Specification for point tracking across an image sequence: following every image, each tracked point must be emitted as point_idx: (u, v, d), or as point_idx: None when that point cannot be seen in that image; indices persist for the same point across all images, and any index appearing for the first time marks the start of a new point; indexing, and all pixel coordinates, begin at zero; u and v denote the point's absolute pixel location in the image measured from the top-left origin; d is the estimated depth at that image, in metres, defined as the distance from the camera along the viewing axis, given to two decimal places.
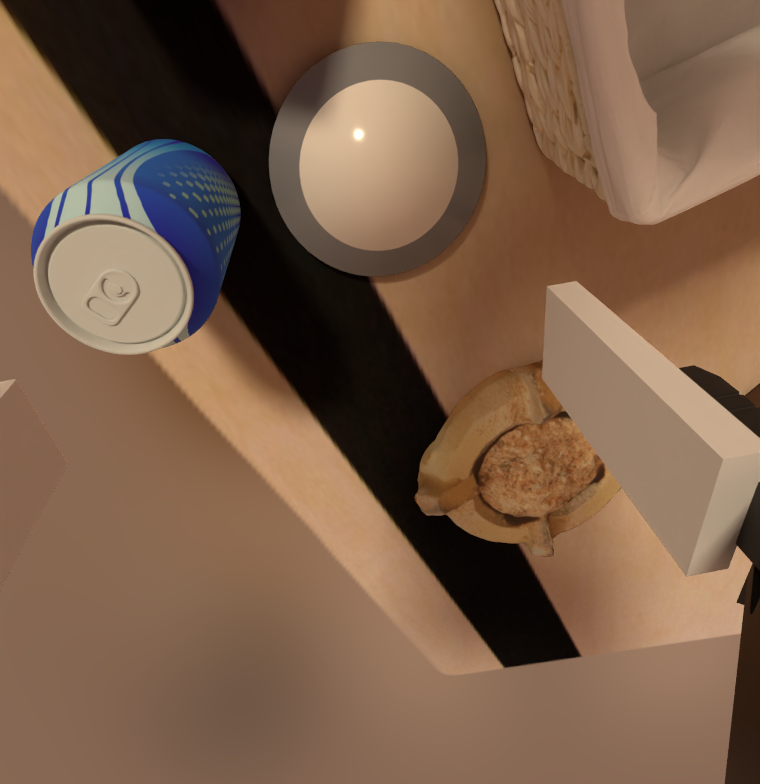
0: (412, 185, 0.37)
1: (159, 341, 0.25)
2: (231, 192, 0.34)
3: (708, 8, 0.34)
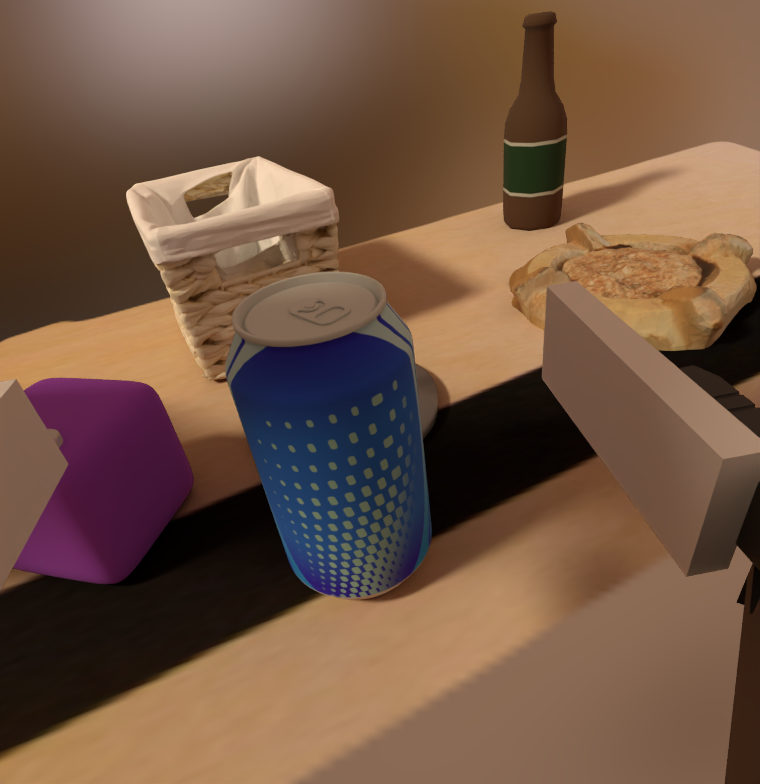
0: None
1: (374, 288, 0.23)
2: None
3: None
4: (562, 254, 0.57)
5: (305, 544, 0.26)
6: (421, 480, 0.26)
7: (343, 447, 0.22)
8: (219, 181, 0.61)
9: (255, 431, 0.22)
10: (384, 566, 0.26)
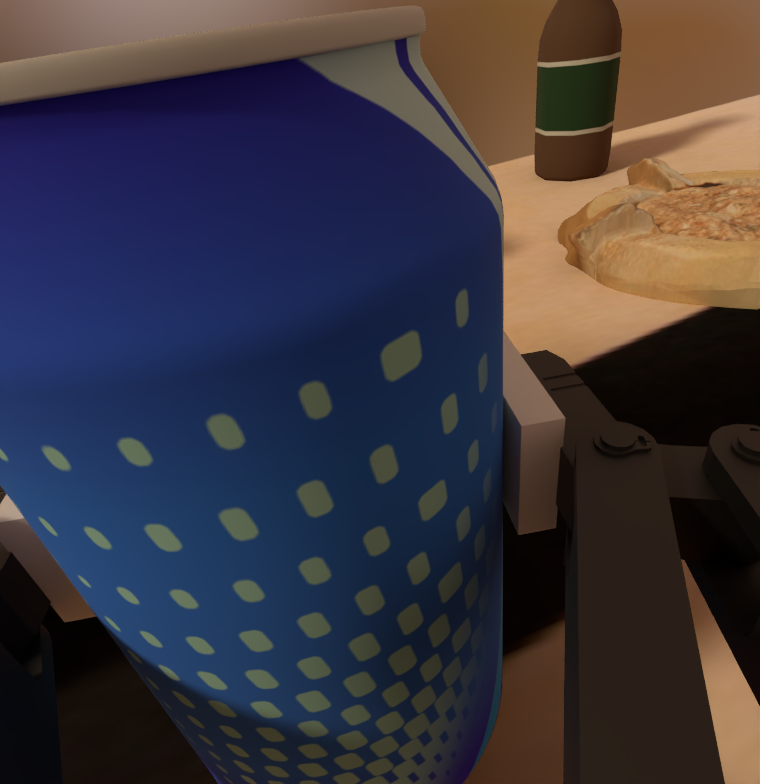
0: None
1: None
2: None
3: None
4: (630, 196, 0.42)
5: (209, 752, 0.10)
6: (499, 576, 0.11)
7: (281, 533, 0.06)
8: None
9: None
10: None
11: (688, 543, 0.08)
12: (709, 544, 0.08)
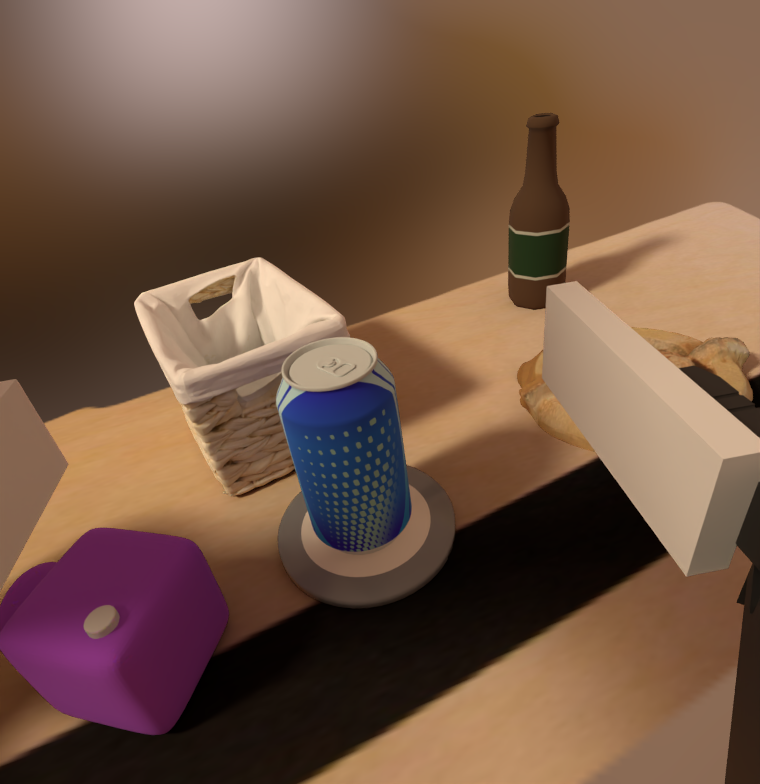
0: None
1: (370, 350, 0.37)
2: None
3: None
4: None
5: (327, 515, 0.39)
6: (402, 472, 0.40)
7: (352, 451, 0.35)
8: (222, 283, 0.62)
9: (297, 442, 0.36)
10: (378, 529, 0.40)
11: None
12: None
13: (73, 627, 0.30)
